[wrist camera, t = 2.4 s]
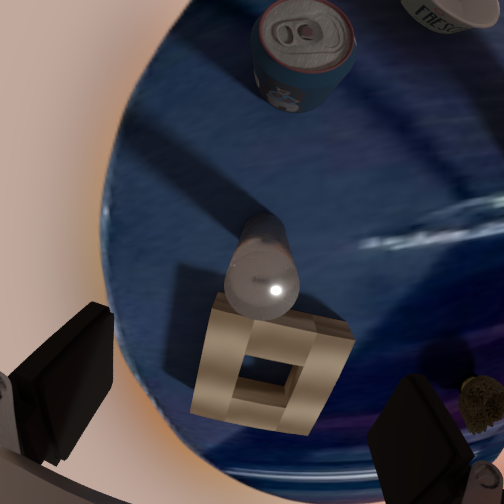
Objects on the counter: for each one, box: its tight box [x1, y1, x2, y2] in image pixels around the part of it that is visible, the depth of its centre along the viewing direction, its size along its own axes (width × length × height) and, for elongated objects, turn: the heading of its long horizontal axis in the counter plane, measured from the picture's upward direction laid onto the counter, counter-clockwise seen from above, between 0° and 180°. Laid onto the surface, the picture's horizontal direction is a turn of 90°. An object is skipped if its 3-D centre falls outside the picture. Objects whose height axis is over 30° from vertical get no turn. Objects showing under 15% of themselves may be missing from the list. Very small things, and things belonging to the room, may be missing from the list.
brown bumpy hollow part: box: [458, 374, 504, 435], centre depth 30 cm, size 8×7×8 cm
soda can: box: [250, 0, 357, 113], centre depth 21 cm, size 7×7×12 cm
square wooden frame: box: [190, 292, 355, 435], centre depth 32 cm, size 14×14×4 cm
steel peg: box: [224, 213, 299, 321], centre depth 23 cm, size 4×4×14 cm
